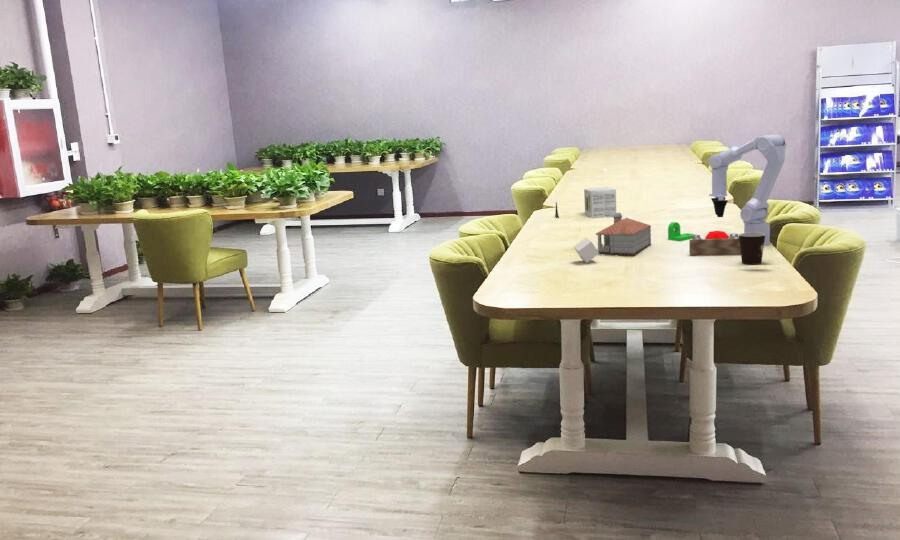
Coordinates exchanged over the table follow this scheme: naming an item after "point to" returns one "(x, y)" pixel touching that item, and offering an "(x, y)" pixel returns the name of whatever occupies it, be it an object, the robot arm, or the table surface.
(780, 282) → the table surface
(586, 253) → the light grey cube
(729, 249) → the backstop
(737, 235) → the grey round piece
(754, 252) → the coffee mug
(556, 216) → the eiffel tower figurine
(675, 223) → the mechanical part
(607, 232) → the model house
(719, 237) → the red black angular block
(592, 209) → the supplement box
